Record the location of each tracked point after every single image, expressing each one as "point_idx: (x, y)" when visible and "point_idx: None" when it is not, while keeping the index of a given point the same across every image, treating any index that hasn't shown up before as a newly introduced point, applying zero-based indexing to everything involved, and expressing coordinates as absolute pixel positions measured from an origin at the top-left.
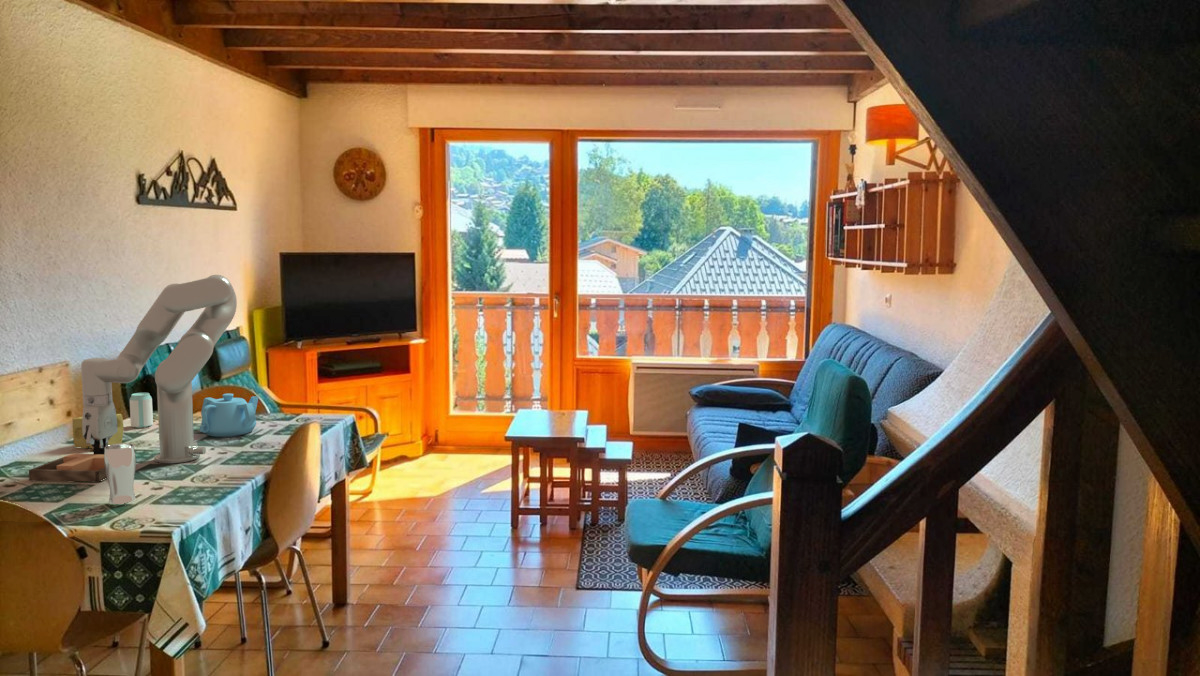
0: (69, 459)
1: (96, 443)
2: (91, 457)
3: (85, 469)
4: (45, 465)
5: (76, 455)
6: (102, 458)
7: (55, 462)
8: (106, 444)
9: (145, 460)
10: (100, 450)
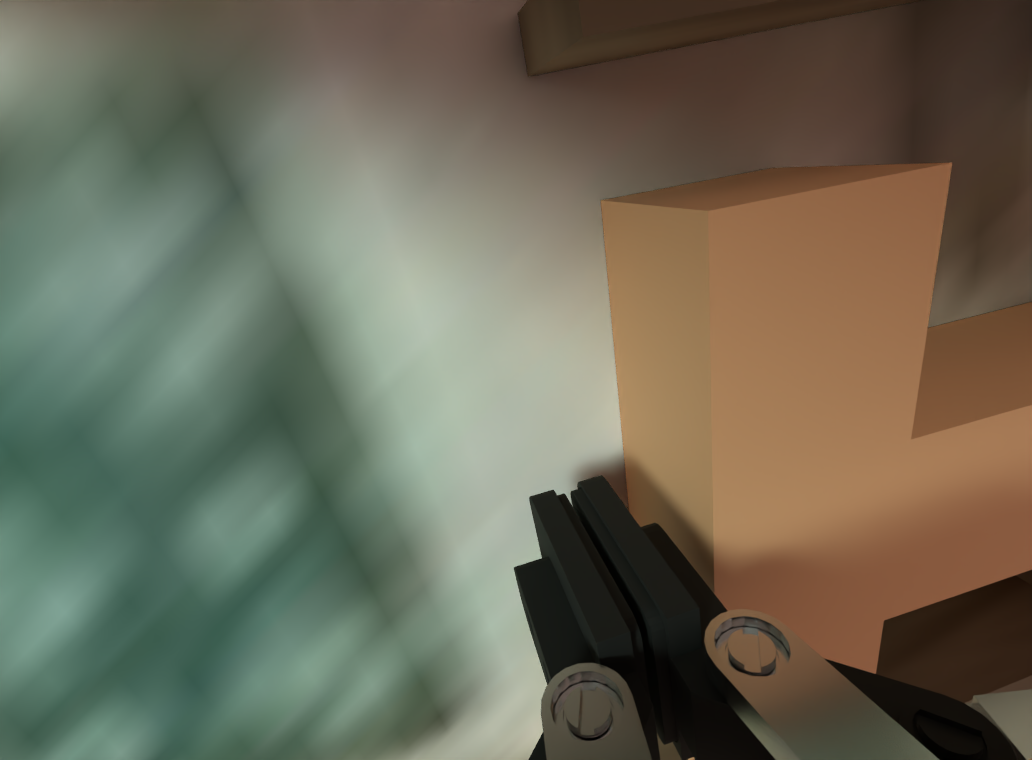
0: None
1: (941, 708)
2: (886, 486)
3: (949, 353)
4: (992, 686)
5: None
6: (926, 294)
7: None
8: (599, 700)
9: (63, 136)
10: (699, 602)
